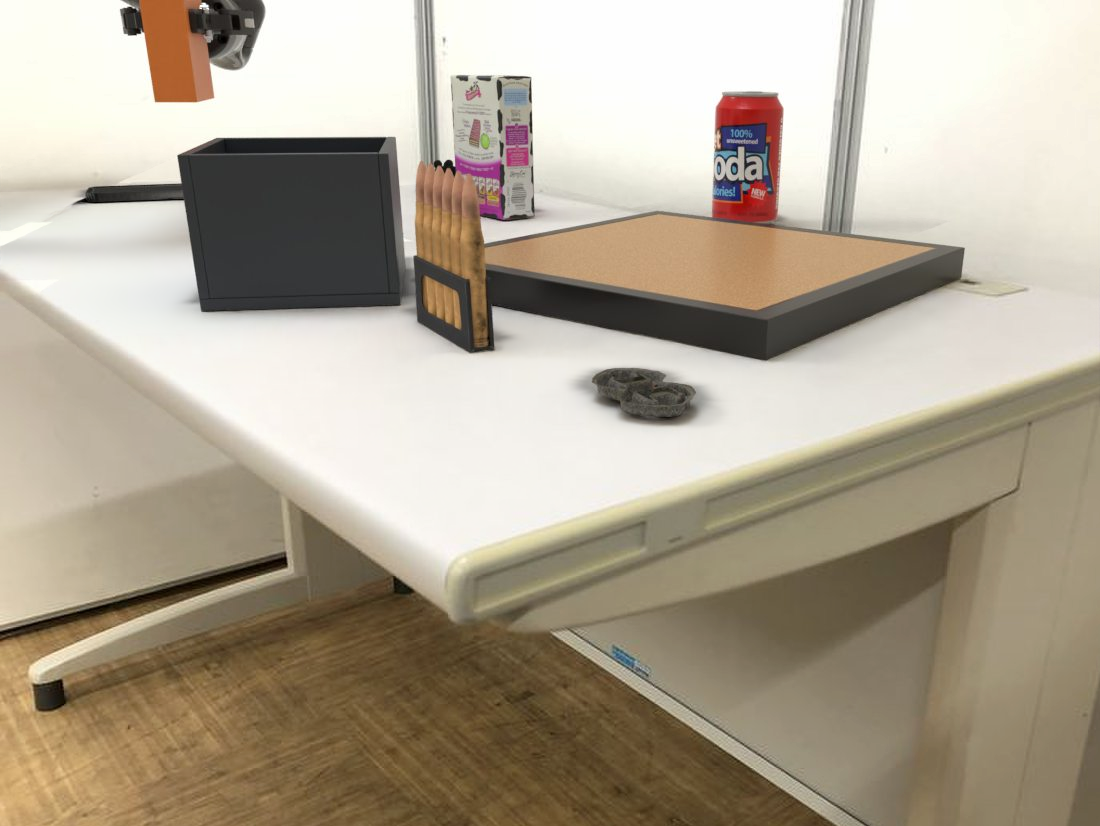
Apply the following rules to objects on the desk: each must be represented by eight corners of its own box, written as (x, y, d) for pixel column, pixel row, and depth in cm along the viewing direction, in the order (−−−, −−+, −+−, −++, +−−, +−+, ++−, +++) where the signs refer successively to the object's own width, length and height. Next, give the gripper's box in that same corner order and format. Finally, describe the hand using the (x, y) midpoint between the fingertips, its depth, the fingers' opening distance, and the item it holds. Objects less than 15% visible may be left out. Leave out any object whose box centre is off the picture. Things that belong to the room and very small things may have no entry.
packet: (154, 102, 105) (132, -44, 100) (175, 98, 113) (155, -37, 108) (197, 102, 106) (176, -43, 101) (214, 98, 114) (196, -36, 109)
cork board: (416, 289, 92) (765, 360, 73) (414, 256, 91) (767, 319, 72) (656, 236, 118) (961, 278, 99) (657, 210, 117) (964, 247, 98)
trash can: (200, 311, 84) (176, 155, 80) (235, 272, 99) (216, 137, 94) (400, 305, 87) (388, 153, 82) (405, 268, 101) (395, 136, 97)
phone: (89, 186, 145) (206, 182, 150) (91, 195, 145) (207, 190, 150) (84, 193, 138) (207, 189, 143) (86, 202, 139) (208, 197, 144)
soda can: (788, 223, 128) (796, 91, 122) (757, 232, 122) (764, 93, 116) (731, 217, 132) (737, 89, 126) (699, 225, 126) (703, 91, 120)
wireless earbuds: (466, 195, 149) (465, 158, 147) (473, 197, 147) (471, 159, 145) (419, 198, 146) (416, 160, 144) (425, 200, 144) (422, 162, 142)
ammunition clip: (416, 320, 82) (404, 160, 78) (439, 318, 83) (428, 159, 78) (470, 353, 74) (461, 175, 69) (495, 349, 75) (487, 174, 70)
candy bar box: (537, 217, 131) (533, 75, 124) (503, 221, 128) (497, 76, 121) (488, 207, 138) (482, 73, 132) (455, 210, 136) (447, 73, 129)
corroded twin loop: (644, 378, 68) (645, 362, 68) (714, 413, 62) (715, 396, 61) (575, 389, 66) (575, 373, 65) (640, 427, 59) (640, 409, 59)
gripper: (272, 59, 122) (248, 62, 107) (142, 59, 120) (97, 61, 104) (264, -12, 119) (238, -21, 104) (130, -14, 117) (82, -23, 101)
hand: (167, 20), depth 104 cm, fingers closed on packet, 4 cm apart
